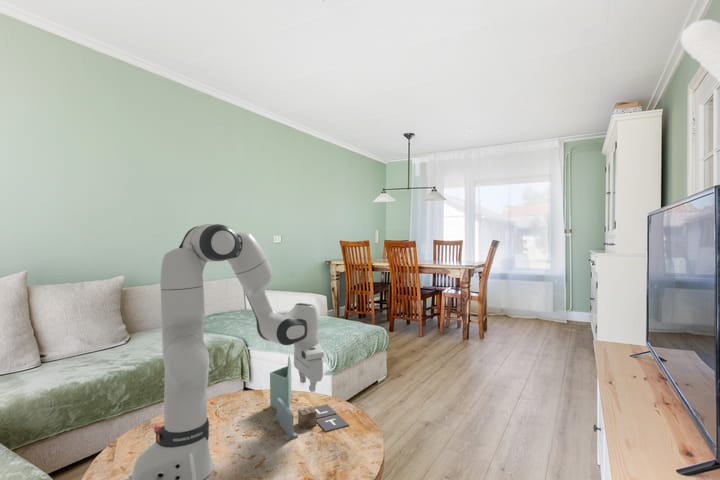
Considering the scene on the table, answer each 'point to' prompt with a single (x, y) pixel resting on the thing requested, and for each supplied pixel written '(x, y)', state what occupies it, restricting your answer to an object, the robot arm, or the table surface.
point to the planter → (281, 385)
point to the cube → (307, 417)
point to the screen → (285, 419)
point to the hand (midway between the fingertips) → (307, 386)
